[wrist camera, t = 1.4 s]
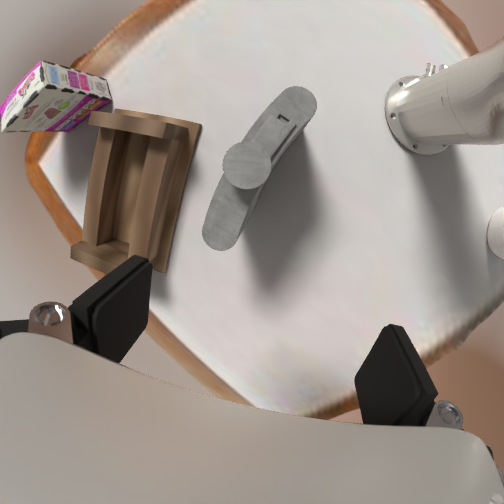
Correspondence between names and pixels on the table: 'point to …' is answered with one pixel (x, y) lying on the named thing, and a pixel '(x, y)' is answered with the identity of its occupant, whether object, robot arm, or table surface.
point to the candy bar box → (52, 99)
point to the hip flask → (254, 165)
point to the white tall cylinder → (497, 233)
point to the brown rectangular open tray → (134, 188)
